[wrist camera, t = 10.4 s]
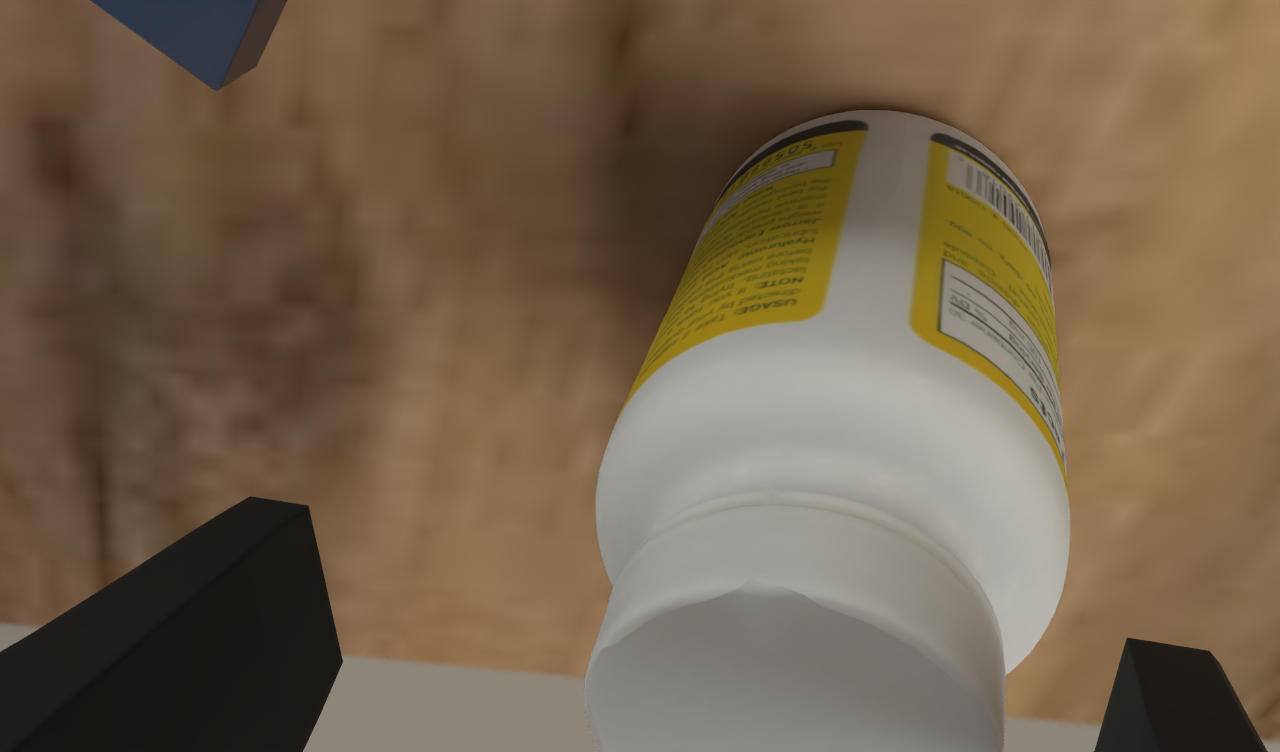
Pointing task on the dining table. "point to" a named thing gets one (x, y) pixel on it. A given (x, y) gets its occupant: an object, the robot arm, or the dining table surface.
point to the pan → (202, 32)
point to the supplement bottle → (838, 459)
